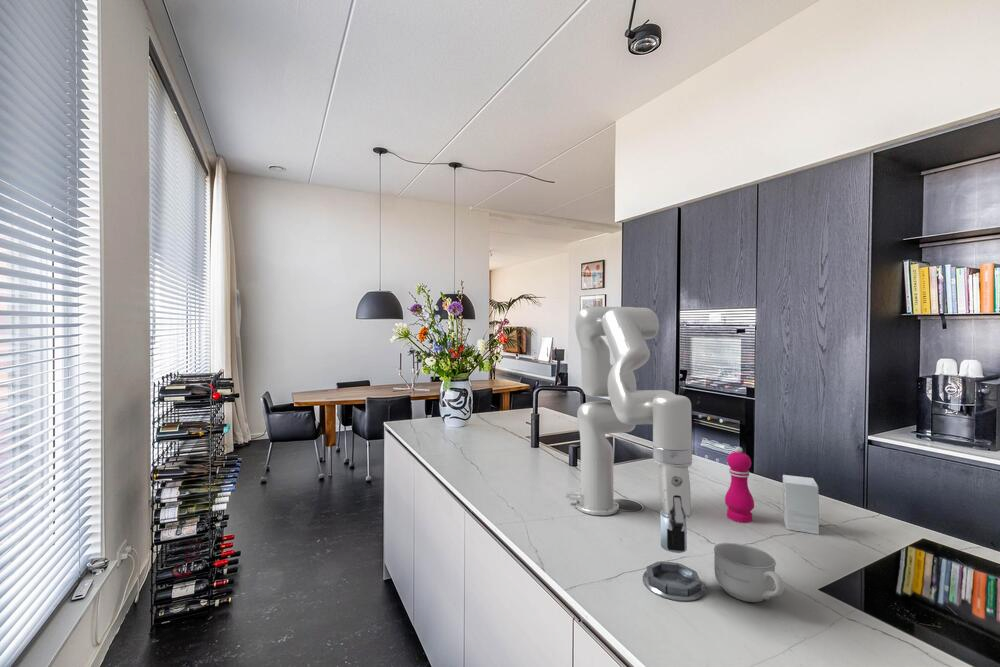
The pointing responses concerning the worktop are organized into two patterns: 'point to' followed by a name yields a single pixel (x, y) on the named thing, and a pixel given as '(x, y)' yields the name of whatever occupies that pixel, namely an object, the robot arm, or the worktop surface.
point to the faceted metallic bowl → (673, 581)
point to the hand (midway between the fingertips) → (673, 542)
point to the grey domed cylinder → (666, 526)
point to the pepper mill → (739, 488)
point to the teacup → (746, 572)
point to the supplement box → (800, 504)
